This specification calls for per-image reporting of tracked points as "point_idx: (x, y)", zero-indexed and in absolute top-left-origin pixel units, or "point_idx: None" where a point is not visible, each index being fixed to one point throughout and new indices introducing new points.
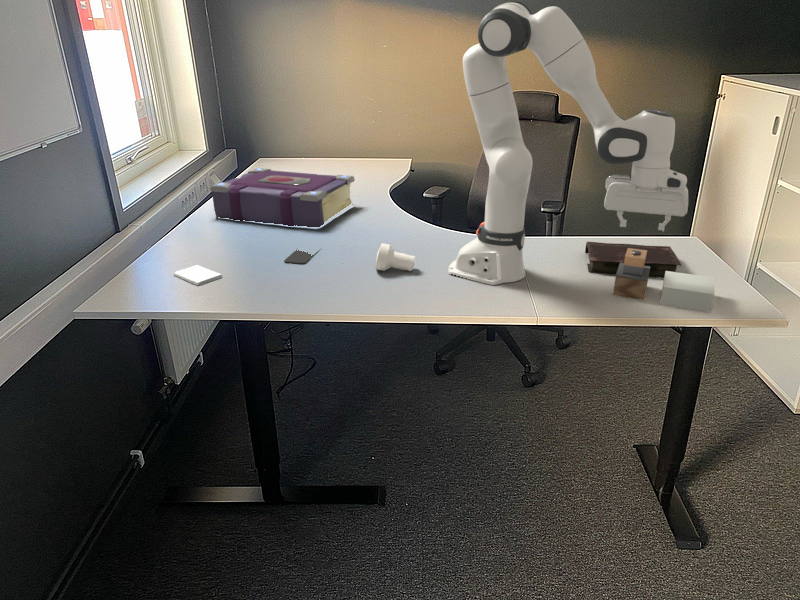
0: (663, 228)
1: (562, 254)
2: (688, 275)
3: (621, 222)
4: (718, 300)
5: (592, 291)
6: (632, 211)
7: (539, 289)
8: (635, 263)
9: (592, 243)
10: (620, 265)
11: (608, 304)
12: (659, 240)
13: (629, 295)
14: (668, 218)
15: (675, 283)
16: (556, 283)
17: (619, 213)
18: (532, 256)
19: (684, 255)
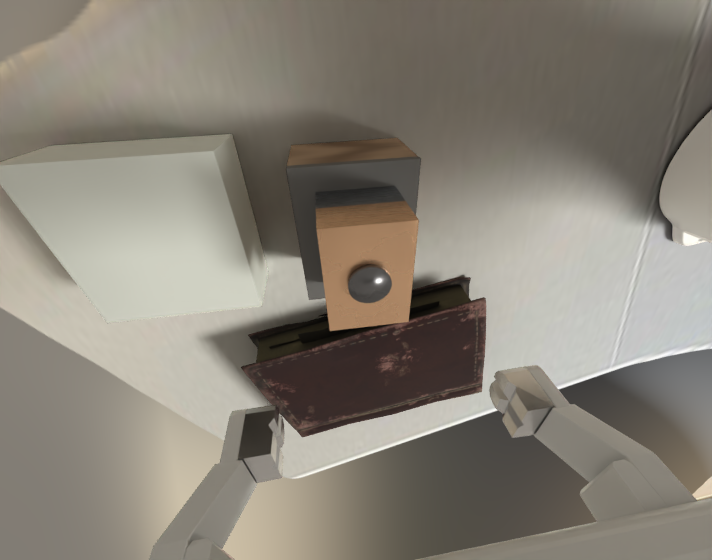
0: (232, 431)
1: (520, 341)
2: (182, 303)
3: (553, 396)
4: None
5: (463, 141)
6: (577, 539)
7: (653, 63)
8: (357, 212)
9: (469, 388)
10: None
11: (406, 28)
12: (334, 457)
13: (342, 143)
14: (171, 556)
15: (187, 213)
16: (575, 154)
17: (647, 471)
18: (596, 304)
19: None
